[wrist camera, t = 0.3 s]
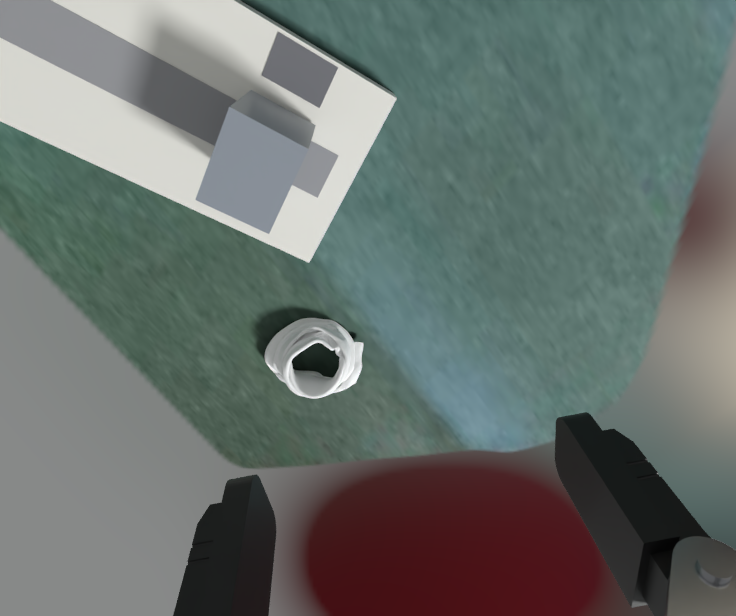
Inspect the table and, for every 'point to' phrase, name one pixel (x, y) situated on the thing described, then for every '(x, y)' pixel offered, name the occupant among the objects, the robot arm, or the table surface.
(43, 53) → the switch housing
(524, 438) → the table surface
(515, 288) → the table surface
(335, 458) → the table surface
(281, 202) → the switch tab
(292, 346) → the white folded ring
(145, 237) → the table surface
